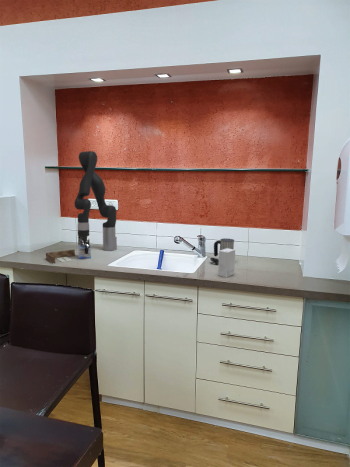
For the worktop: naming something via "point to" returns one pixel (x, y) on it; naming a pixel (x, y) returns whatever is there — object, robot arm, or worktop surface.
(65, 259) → the pad
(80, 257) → the medicine box
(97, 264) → the worktop surface
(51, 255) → the brown piece
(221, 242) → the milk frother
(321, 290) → the worktop surface
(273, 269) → the worktop surface
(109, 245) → the robot arm
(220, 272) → the skincare box
